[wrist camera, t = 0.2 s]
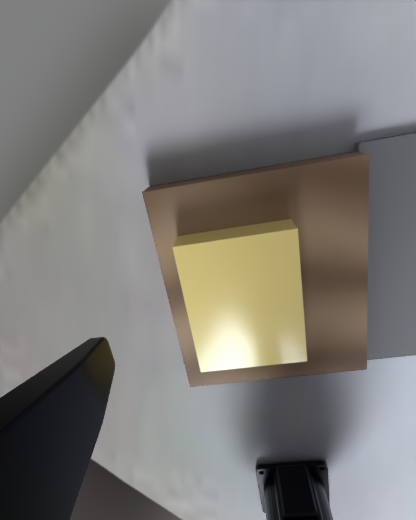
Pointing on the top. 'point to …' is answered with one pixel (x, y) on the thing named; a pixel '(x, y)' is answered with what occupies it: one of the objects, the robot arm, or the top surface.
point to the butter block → (243, 295)
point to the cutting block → (310, 247)
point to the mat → (391, 246)
